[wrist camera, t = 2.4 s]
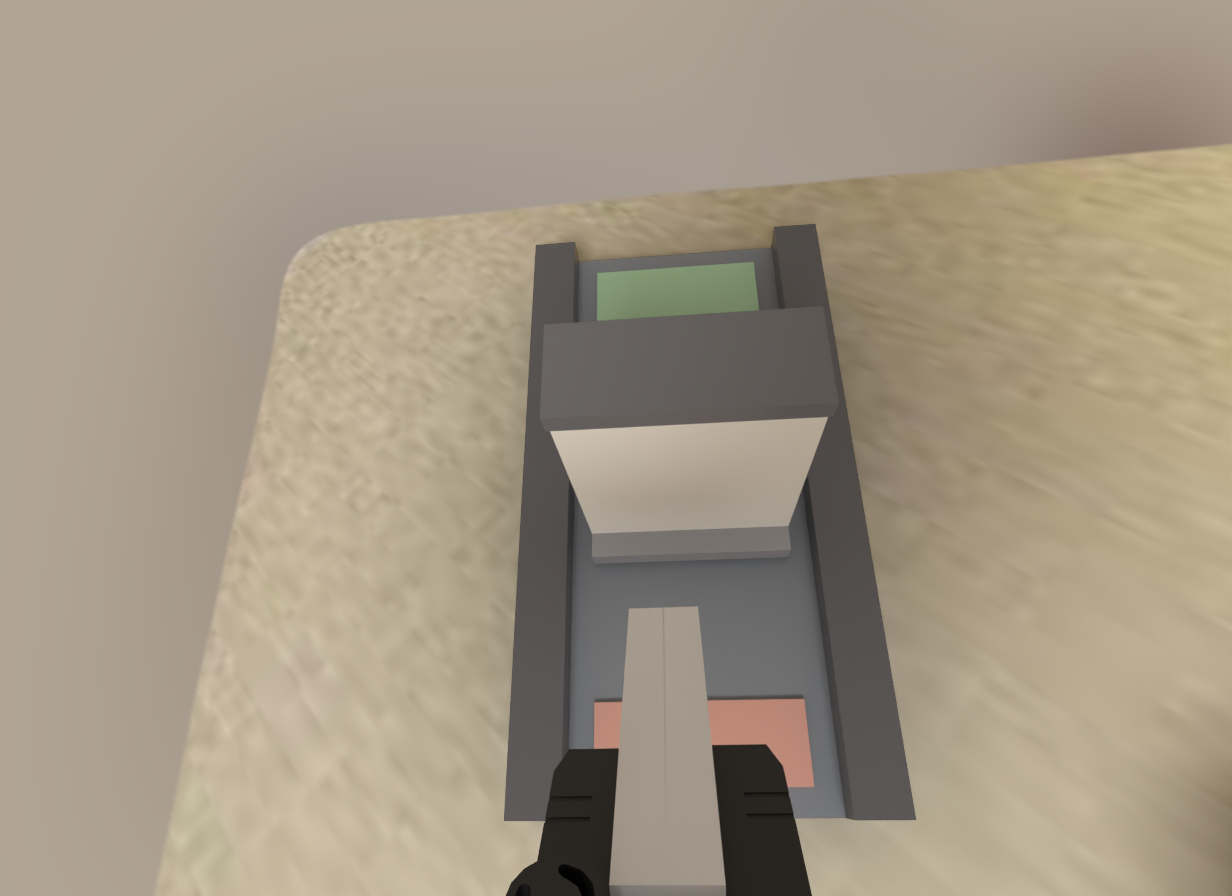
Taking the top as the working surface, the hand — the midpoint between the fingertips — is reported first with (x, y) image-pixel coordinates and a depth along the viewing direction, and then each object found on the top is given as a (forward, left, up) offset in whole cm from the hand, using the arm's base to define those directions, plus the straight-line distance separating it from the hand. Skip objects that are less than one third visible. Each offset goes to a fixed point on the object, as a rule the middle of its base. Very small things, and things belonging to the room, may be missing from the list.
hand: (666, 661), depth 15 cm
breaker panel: (-4, -9, -15) cm, 18 cm away
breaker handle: (-4, -8, -12) cm, 15 cm away
